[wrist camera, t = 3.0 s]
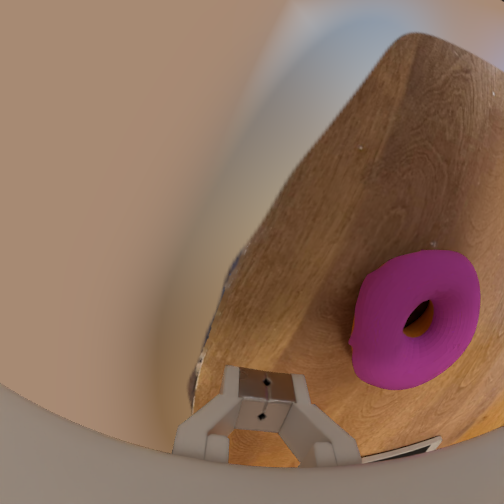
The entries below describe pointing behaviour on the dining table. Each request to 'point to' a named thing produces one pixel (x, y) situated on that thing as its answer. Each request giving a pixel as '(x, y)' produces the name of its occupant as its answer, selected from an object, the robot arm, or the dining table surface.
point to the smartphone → (405, 451)
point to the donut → (424, 328)
